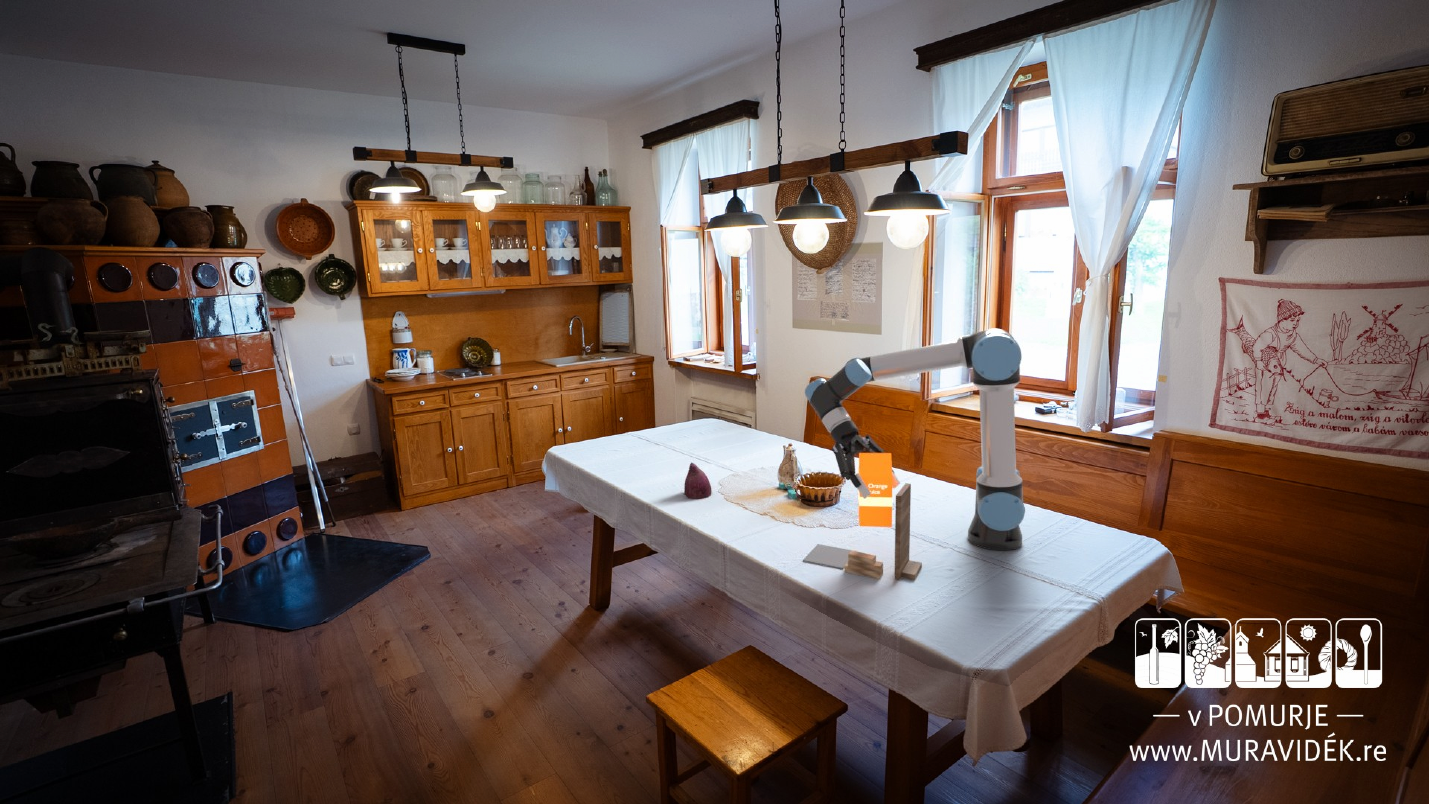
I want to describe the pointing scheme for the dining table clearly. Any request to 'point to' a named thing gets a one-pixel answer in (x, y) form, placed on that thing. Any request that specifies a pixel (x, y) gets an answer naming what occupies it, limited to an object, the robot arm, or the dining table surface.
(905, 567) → the walnut rack
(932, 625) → the dining table surface
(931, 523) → the dining table surface
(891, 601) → the dining table surface
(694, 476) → the vegetable
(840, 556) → the grey mat
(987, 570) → the dining table surface
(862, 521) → the orange juice
